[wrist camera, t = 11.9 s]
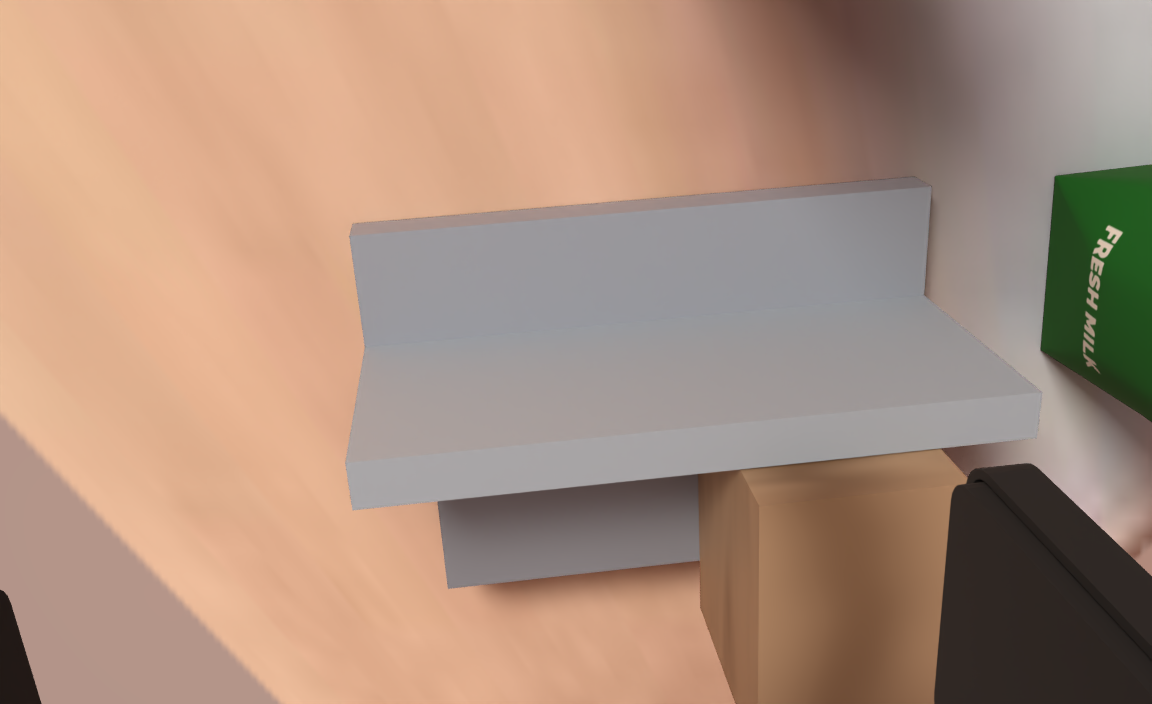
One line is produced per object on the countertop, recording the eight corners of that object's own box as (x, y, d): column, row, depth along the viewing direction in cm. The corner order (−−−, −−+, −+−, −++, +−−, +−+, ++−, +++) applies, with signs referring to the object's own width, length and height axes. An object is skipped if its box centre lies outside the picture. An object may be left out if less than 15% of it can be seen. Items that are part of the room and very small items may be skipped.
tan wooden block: (868, 369, 38) (972, 483, 30) (857, 605, 42) (946, 757, 34) (696, 386, 37) (759, 506, 30) (700, 624, 41) (757, 782, 34)
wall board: (914, 176, 40) (1058, 260, 30) (894, 481, 44) (1013, 633, 35) (352, 223, 38) (324, 327, 29) (395, 535, 43) (383, 709, 34)
